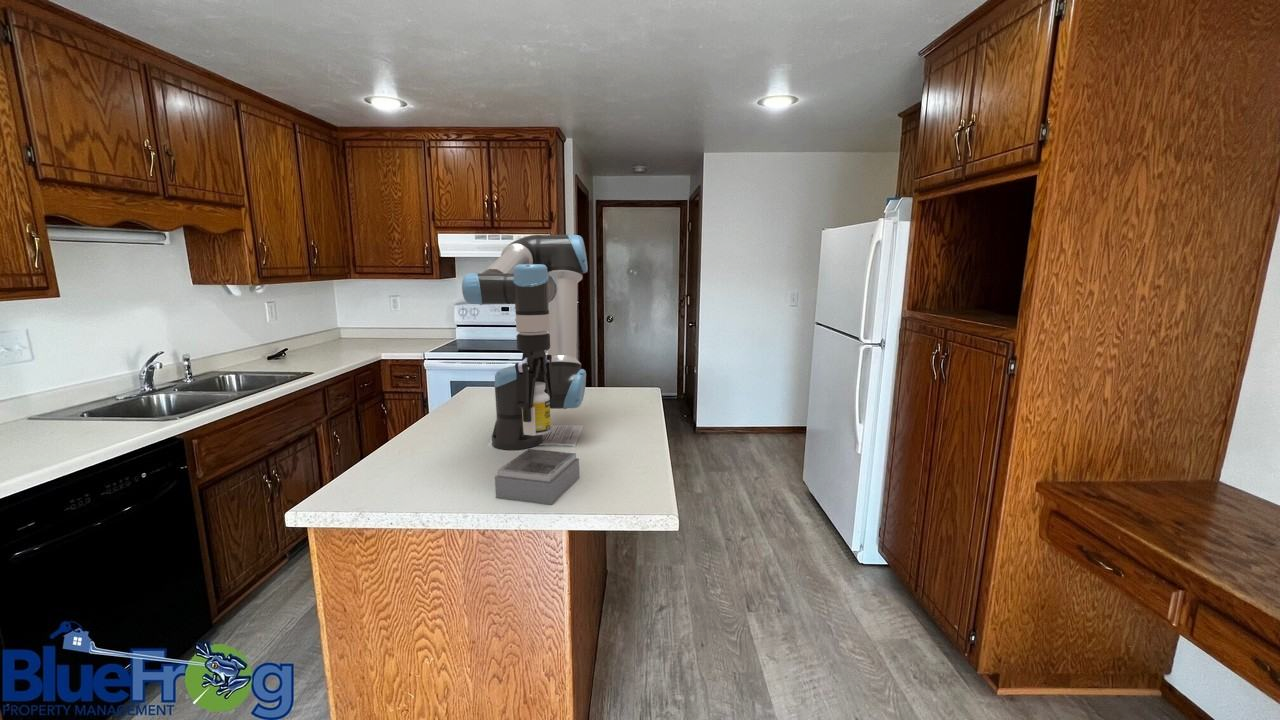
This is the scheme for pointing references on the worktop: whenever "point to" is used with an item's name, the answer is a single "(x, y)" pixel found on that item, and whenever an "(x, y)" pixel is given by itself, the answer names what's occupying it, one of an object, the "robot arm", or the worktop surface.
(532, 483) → the square metal tray
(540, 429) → the pill bottle
